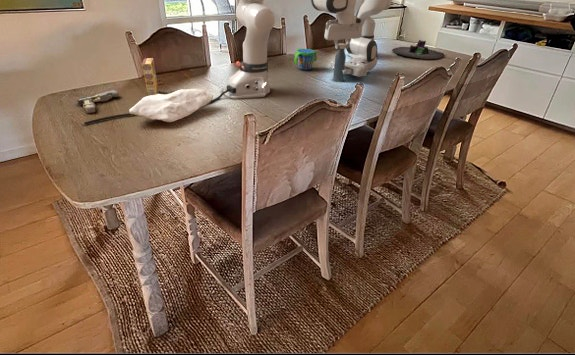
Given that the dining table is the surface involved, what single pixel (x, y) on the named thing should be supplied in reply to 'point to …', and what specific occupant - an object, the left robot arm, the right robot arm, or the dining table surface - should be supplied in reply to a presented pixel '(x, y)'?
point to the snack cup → (305, 58)
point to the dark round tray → (418, 51)
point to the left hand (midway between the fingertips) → (341, 48)
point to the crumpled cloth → (171, 104)
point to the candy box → (150, 76)
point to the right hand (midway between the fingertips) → (338, 70)
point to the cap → (342, 46)
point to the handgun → (95, 100)
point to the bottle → (339, 65)
